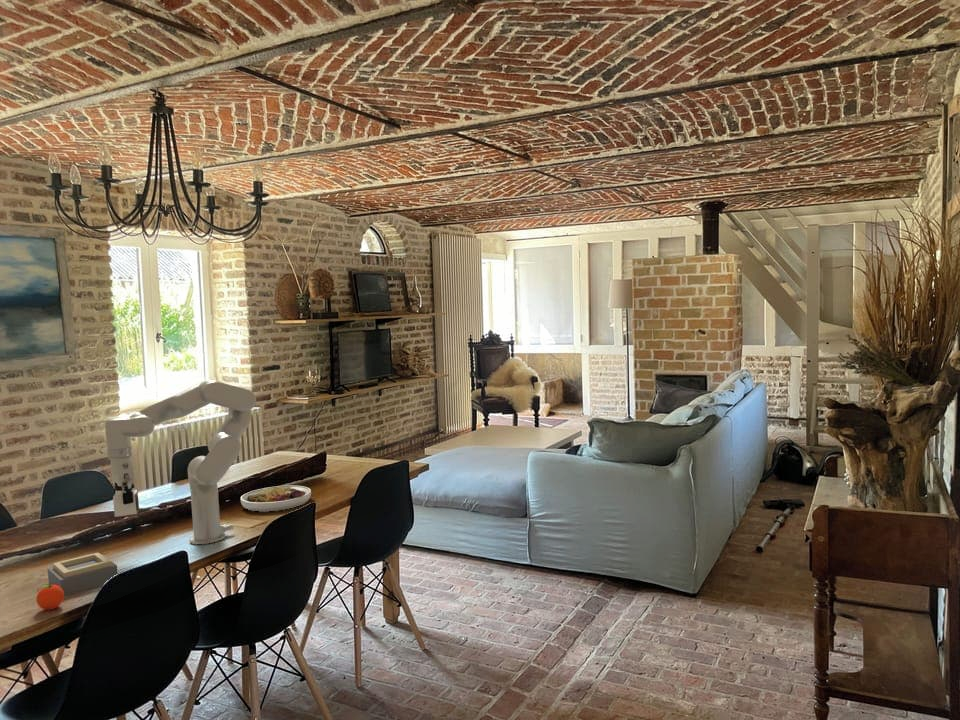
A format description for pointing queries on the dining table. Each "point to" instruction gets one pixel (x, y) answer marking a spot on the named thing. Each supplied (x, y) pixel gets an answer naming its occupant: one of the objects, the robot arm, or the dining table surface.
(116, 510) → the medicine bottle
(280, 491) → the bowl
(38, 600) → the clementine
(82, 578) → the block
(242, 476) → the dining table surface
